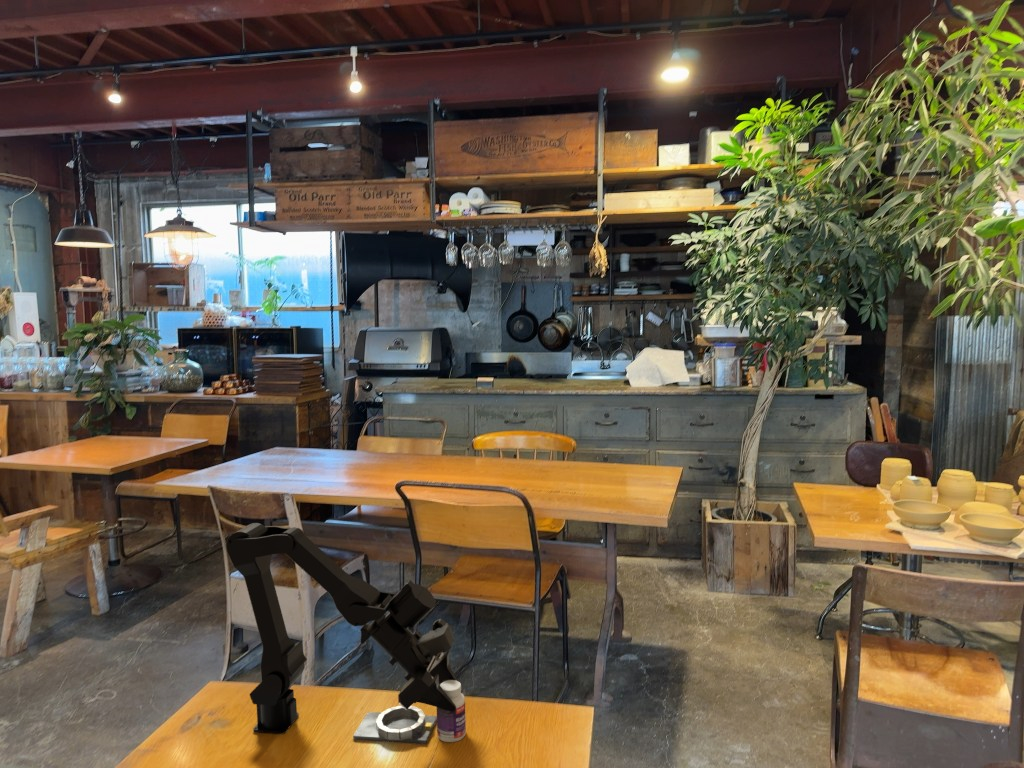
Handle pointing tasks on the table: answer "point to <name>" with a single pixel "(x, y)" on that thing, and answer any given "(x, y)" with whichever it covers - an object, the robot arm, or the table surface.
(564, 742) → the table surface
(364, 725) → the plate
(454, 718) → the pill bottle
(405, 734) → the collar
